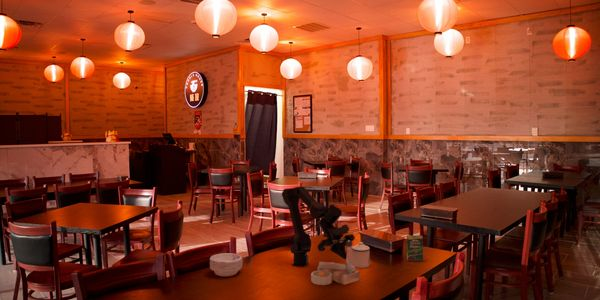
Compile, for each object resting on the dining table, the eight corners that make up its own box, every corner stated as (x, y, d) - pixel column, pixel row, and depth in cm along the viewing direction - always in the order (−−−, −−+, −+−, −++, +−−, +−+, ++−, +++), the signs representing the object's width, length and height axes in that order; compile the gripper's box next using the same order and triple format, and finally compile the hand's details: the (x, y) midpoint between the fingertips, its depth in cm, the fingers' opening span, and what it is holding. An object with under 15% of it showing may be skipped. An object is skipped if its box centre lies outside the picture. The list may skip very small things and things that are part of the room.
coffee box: (407, 261, 226) (407, 236, 225) (406, 259, 229) (406, 234, 228) (423, 261, 225) (423, 236, 224) (422, 260, 228) (422, 235, 227)
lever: (315, 270, 198) (315, 237, 197) (320, 266, 205) (320, 234, 204) (351, 275, 192) (351, 241, 191) (356, 270, 199) (356, 237, 198)
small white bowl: (308, 283, 194) (308, 275, 194) (315, 277, 203) (315, 269, 203) (328, 286, 191) (328, 278, 191) (334, 279, 200) (334, 271, 199)
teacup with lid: (372, 267, 216) (372, 244, 216) (355, 269, 214) (355, 245, 214) (363, 260, 228) (363, 238, 227) (347, 261, 226) (347, 239, 225)
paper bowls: (248, 271, 212) (248, 254, 212) (229, 280, 199) (229, 263, 198) (223, 266, 219) (223, 251, 219) (203, 275, 206) (202, 259, 206)
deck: (317, 274, 207) (317, 265, 206) (332, 270, 212) (331, 262, 212) (344, 284, 193) (344, 275, 192) (359, 280, 198) (359, 271, 198)
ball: (320, 270, 197) (324, 270, 199) (315, 275, 198) (319, 275, 201) (323, 276, 195) (328, 276, 197) (318, 281, 196) (323, 281, 199)
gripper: (321, 222, 192) (339, 252, 184) (352, 216, 203) (369, 245, 195) (310, 236, 199) (326, 266, 190) (340, 230, 210) (357, 258, 202)
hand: (345, 258), depth 194 cm, fingers closed
